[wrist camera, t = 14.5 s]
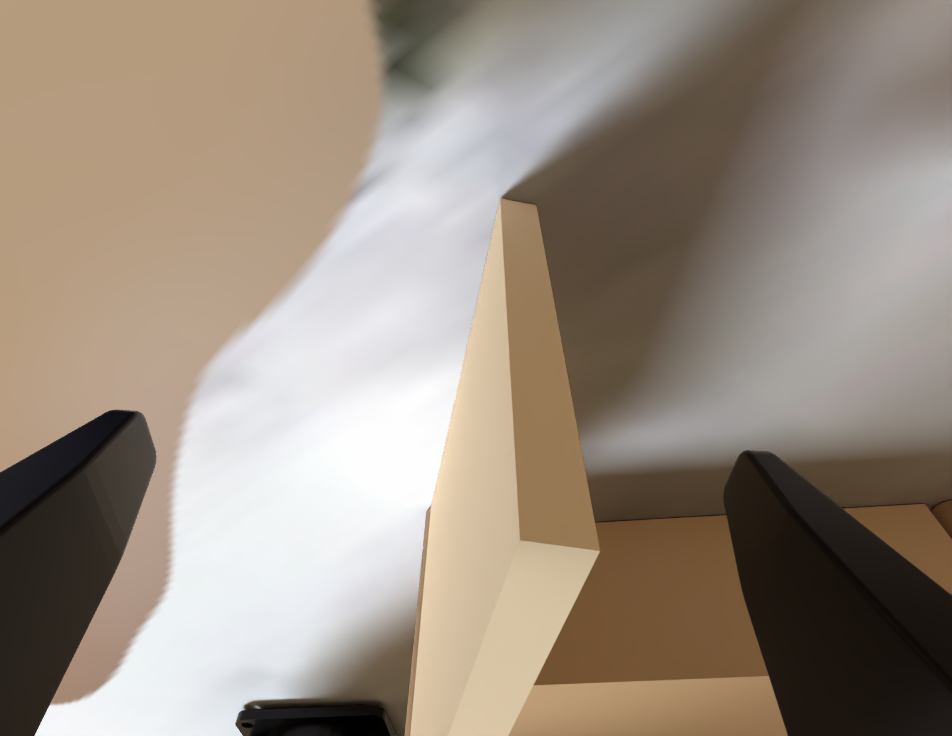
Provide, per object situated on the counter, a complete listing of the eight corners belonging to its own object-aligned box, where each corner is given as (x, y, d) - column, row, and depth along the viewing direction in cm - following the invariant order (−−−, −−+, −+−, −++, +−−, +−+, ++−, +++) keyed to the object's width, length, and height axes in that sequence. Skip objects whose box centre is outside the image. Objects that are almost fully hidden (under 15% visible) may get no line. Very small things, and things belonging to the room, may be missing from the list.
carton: (469, 687, 25) (466, 838, 21) (436, 531, 20) (423, 697, 15) (842, 672, 24) (916, 828, 20) (924, 504, 19) (1053, 673, 14)
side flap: (455, 527, 20) (437, 887, 12) (423, 522, 19) (388, 883, 12) (540, 206, 13) (609, 552, 6) (495, 197, 13) (509, 539, 6)
